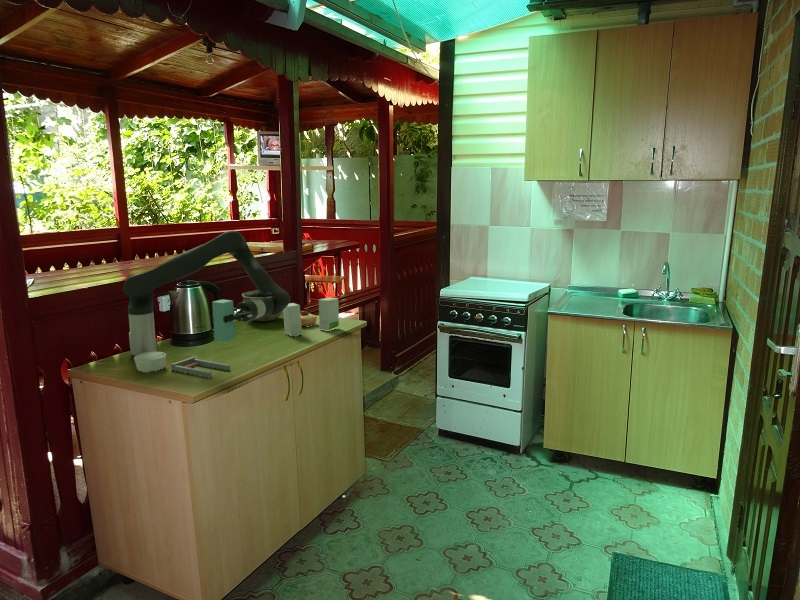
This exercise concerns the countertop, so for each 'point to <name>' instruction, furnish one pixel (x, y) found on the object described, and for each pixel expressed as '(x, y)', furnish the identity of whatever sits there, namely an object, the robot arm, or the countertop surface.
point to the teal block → (220, 328)
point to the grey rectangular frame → (190, 362)
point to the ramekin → (150, 361)
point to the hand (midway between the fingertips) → (218, 318)
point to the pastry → (307, 318)
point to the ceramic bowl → (257, 295)
